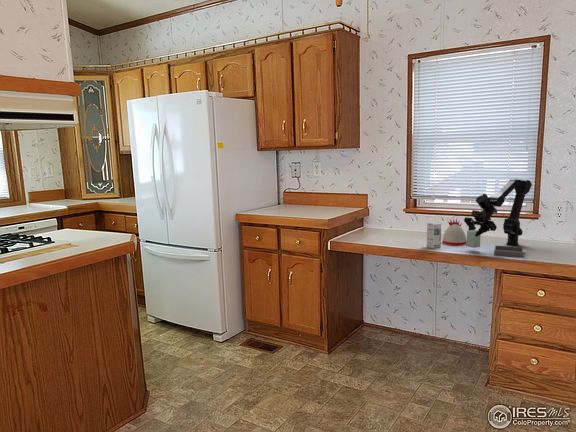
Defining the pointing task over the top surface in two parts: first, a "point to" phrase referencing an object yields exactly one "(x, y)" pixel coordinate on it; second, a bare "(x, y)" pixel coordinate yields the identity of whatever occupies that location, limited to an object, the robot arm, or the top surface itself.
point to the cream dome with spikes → (454, 234)
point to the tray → (508, 251)
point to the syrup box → (434, 234)
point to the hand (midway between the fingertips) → (471, 235)
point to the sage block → (473, 239)
